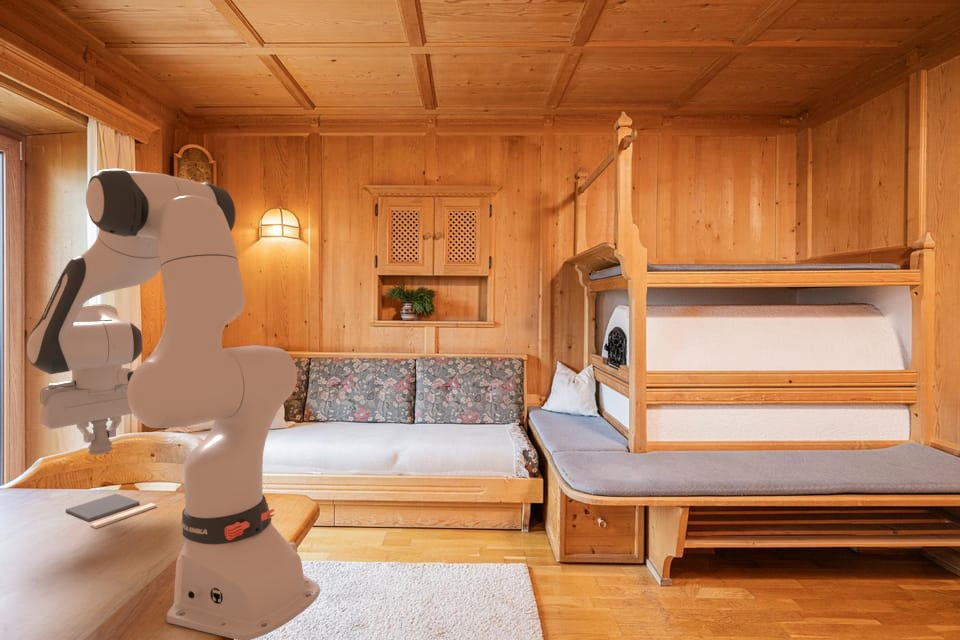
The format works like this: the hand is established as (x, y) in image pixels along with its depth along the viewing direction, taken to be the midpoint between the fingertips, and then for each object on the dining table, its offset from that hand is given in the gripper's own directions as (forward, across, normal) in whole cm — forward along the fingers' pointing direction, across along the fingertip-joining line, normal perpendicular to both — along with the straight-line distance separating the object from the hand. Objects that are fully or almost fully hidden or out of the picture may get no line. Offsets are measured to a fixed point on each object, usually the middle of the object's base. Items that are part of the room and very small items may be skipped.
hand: (100, 439), depth 112 cm
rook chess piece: (+3, 0, 0) cm, 3 cm away
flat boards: (+16, 0, -3) cm, 16 cm away
